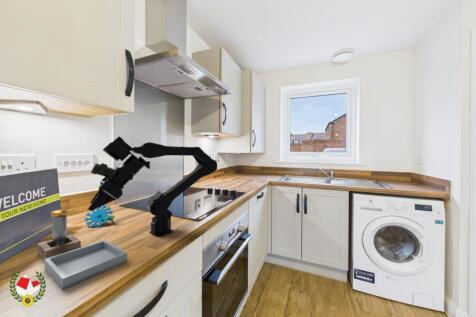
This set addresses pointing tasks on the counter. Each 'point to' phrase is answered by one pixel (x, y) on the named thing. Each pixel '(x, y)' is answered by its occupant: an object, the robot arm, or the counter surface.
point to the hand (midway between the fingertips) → (90, 206)
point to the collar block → (58, 247)
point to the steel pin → (59, 227)
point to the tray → (84, 263)
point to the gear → (100, 216)
